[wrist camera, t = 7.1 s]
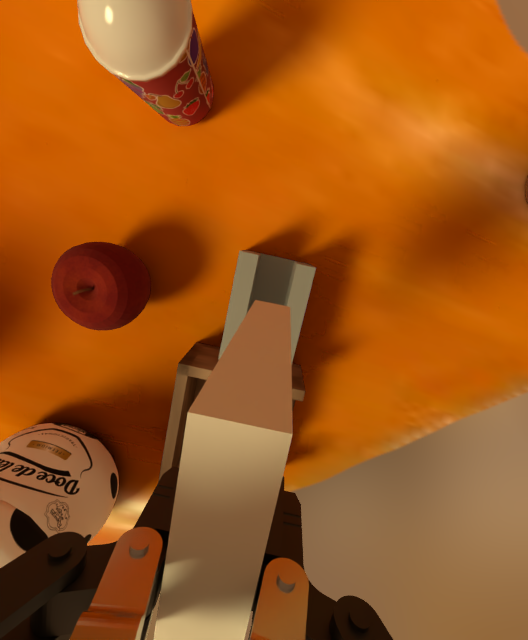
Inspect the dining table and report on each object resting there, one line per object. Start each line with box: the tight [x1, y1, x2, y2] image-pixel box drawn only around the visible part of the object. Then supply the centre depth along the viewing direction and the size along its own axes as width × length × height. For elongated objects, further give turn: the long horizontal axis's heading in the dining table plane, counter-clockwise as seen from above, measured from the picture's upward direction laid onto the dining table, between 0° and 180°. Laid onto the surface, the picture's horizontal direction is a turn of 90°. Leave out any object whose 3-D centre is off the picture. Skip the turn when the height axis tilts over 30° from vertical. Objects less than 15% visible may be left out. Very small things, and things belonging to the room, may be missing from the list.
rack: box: [158, 342, 305, 482], centre depth 42 cm, size 14×16×8 cm
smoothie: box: [77, 0, 214, 126], centre depth 28 cm, size 8×8×20 cm
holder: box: [218, 250, 316, 366], centre depth 39 cm, size 8×12×7 cm, turn 168°
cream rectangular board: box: [154, 300, 293, 640], centre depth 17 cm, size 2×11×16 cm, turn 169°
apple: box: [51, 242, 151, 330], centre depth 37 cm, size 10×10×10 cm
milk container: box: [0, 423, 119, 568], centre depth 40 cm, size 17×17×18 cm
